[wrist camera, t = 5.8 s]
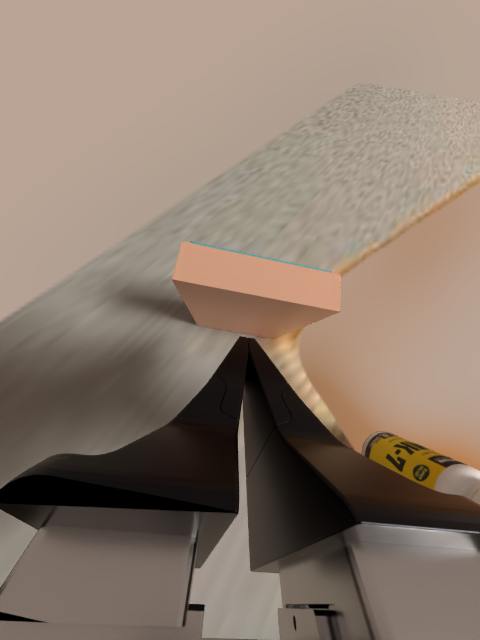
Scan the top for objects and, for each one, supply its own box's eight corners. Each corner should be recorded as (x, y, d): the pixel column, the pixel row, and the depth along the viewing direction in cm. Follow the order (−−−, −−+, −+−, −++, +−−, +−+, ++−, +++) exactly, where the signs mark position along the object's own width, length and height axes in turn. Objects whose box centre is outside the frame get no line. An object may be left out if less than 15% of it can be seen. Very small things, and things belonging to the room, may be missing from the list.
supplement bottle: (389, 421, 17) (540, 474, 9) (413, 473, 16) (604, 581, 8) (350, 442, 16) (479, 520, 8) (374, 497, 16) (544, 646, 7)
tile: (274, 338, 18) (340, 311, 8) (197, 325, 17) (171, 279, 8) (276, 317, 18) (340, 269, 9) (202, 304, 18) (183, 236, 8)
